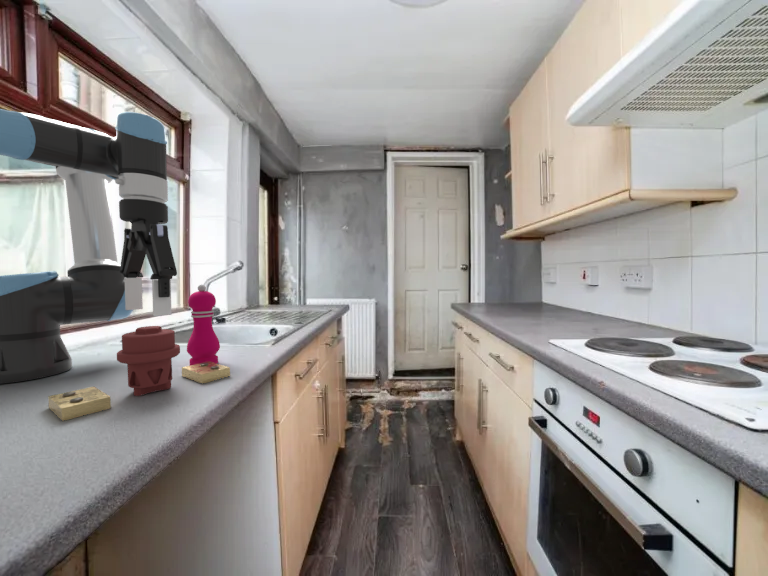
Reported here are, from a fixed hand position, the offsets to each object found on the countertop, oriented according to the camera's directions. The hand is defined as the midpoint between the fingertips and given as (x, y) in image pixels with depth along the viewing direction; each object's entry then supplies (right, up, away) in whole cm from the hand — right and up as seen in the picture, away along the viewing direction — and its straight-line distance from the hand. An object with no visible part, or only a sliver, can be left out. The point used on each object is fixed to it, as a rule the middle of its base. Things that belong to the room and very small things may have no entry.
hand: (147, 312), depth 64 cm
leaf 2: (+7, -15, +9) cm, 18 cm away
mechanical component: (0, -15, 0) cm, 15 cm away
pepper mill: (+1, -15, +18) cm, 24 cm away
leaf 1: (-6, -16, -8) cm, 18 cm away
